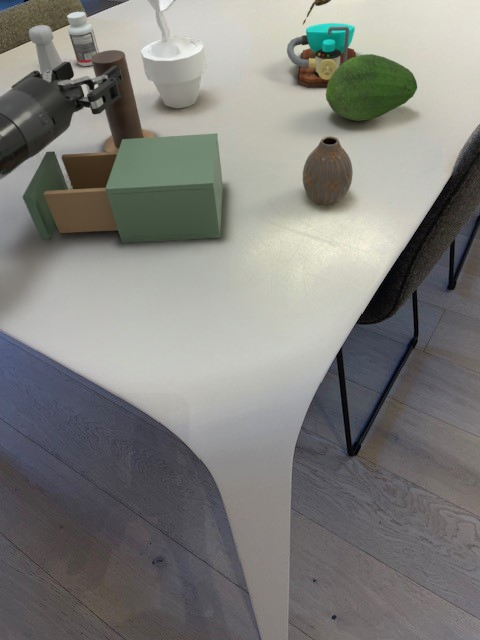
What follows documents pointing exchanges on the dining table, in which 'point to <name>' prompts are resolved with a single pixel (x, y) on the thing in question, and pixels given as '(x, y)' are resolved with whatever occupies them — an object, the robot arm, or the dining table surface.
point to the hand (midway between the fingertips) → (94, 70)
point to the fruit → (369, 87)
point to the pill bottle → (82, 38)
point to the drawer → (71, 194)
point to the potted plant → (174, 62)
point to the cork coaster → (111, 147)
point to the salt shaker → (45, 47)
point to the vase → (327, 172)
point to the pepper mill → (124, 109)
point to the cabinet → (167, 188)
